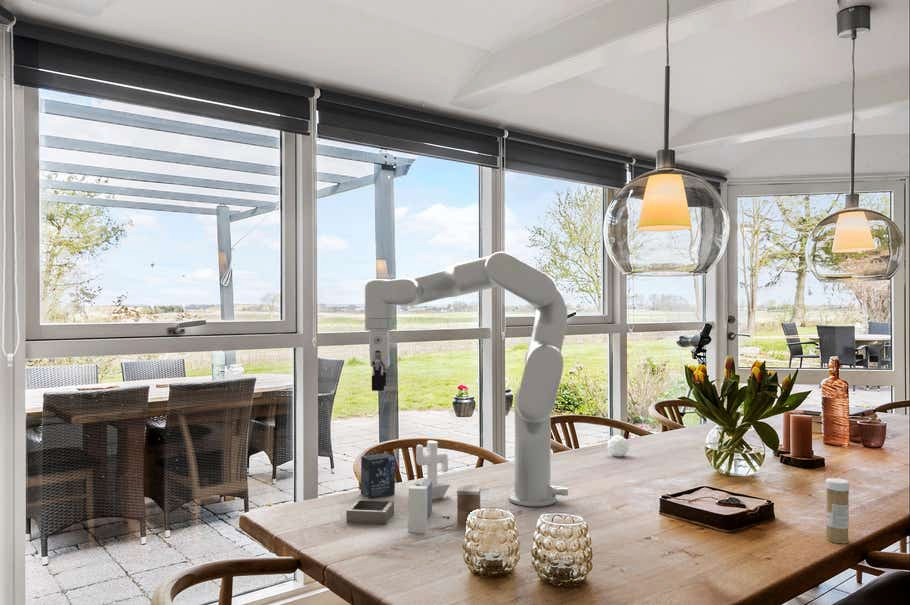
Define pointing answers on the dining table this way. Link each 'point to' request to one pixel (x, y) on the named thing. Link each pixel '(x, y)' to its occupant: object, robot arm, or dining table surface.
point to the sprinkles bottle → (837, 510)
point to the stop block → (467, 502)
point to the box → (377, 475)
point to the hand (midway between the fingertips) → (379, 388)
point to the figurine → (433, 467)
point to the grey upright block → (419, 506)
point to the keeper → (370, 512)
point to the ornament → (618, 446)
